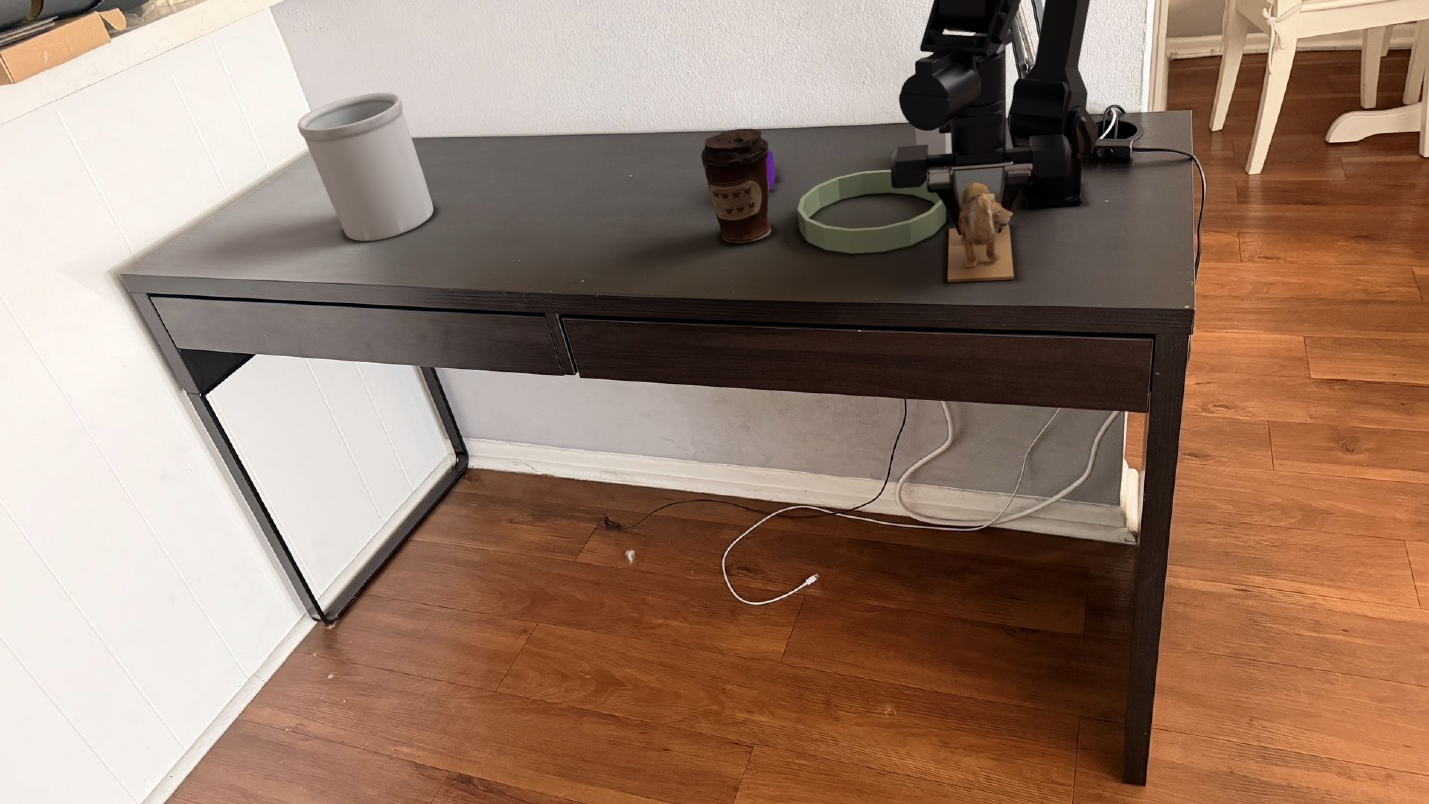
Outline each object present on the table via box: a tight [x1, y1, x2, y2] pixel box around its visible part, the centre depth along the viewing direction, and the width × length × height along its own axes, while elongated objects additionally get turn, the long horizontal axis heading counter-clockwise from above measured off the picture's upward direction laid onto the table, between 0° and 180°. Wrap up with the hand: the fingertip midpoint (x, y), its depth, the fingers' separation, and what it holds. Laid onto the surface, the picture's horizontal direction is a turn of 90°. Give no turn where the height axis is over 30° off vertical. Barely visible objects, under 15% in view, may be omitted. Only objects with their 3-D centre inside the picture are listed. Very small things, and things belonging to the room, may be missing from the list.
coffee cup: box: [700, 128, 772, 244], centre depth 129 cm, size 9×8×13 cm
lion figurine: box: [958, 182, 1013, 268], centre depth 115 cm, size 15×5×9 cm, turn 179°
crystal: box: [767, 149, 776, 191], centre depth 145 cm, size 5×5×15 cm
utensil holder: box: [297, 92, 434, 242], centre depth 151 cm, size 15×15×18 cm
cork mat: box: [947, 224, 1014, 283], centre depth 118 cm, size 7×13×1 cm, turn 169°
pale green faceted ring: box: [796, 169, 947, 254], centre depth 129 cm, size 18×18×3 cm
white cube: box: [914, 127, 952, 155], centre depth 142 cm, size 6×6×6 cm
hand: (979, 232), depth 116 cm, fingers closed on lion figurine, 4 cm apart
